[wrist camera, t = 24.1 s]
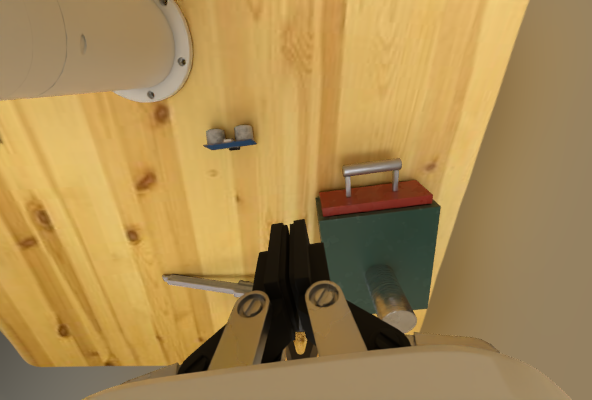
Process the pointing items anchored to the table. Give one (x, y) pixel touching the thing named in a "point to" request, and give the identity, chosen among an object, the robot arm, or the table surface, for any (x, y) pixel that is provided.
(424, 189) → the drawer
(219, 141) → the ultrasonic sensor
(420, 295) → the cabinet
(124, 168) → the table surface
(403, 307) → the tin
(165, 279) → the grey bent bar
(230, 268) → the table surface
